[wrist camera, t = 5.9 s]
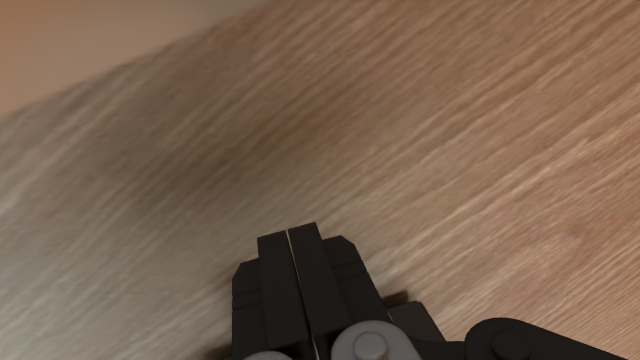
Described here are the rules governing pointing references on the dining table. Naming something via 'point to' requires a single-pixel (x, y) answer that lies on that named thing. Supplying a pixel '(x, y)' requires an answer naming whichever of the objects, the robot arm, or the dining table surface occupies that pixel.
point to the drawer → (409, 322)
